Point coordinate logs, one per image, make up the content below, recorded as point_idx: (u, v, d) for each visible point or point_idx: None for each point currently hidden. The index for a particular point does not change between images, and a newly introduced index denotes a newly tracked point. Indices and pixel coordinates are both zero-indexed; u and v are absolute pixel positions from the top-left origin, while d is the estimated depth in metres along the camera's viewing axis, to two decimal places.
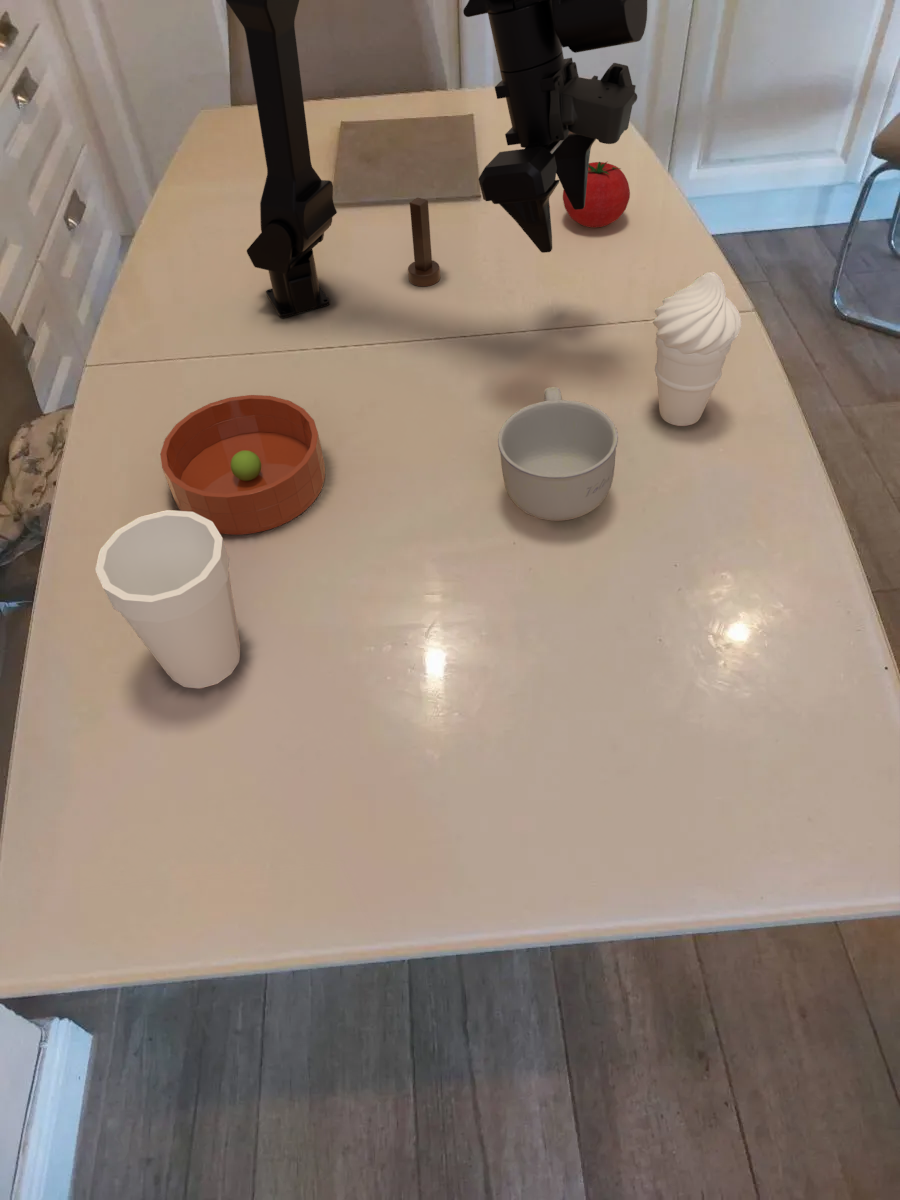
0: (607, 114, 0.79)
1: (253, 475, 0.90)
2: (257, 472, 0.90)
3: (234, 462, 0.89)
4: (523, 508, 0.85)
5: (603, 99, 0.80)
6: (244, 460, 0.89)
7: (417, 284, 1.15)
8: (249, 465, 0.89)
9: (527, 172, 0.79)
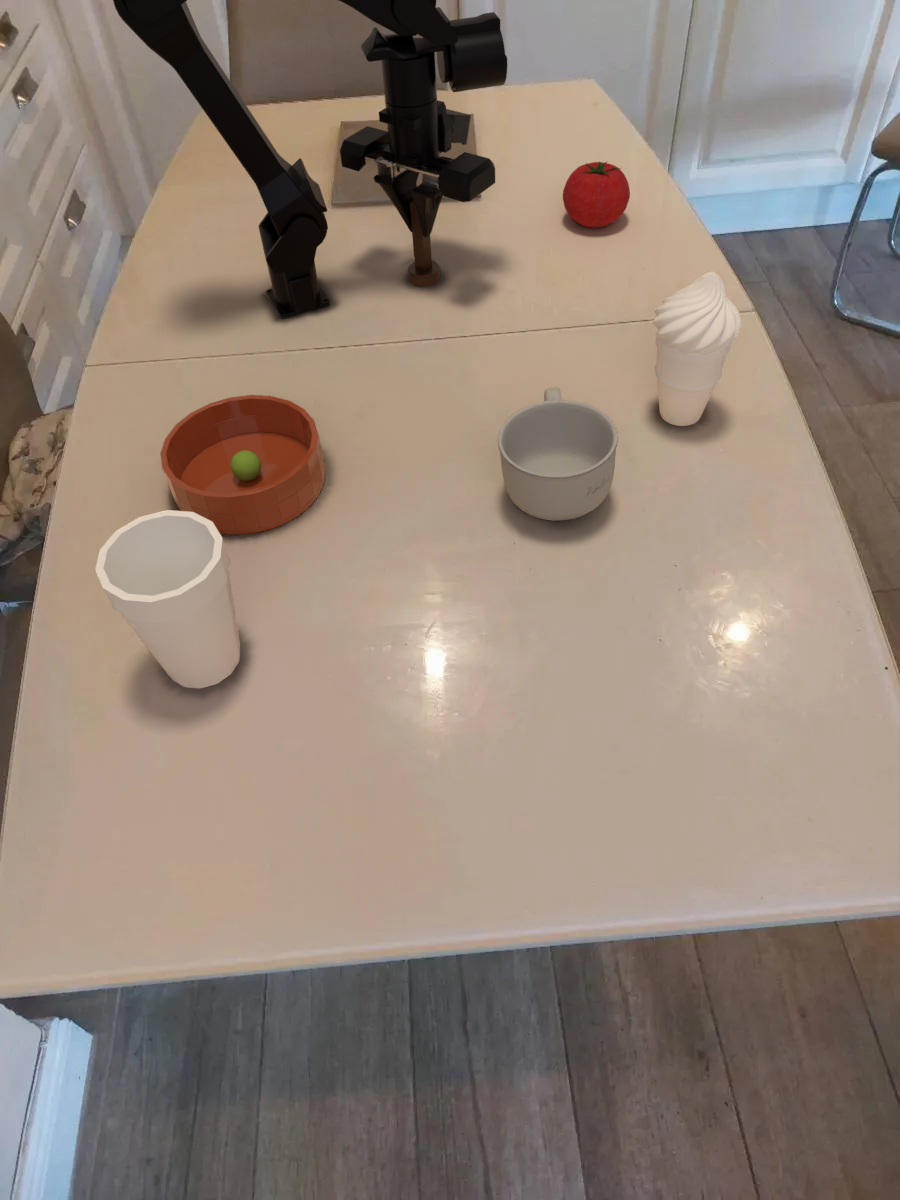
0: (468, 121, 1.06)
1: (253, 475, 0.90)
2: (257, 472, 0.90)
3: (234, 462, 0.89)
4: (523, 508, 0.85)
5: (456, 113, 1.05)
6: (244, 460, 0.89)
7: (417, 284, 1.15)
8: (249, 465, 0.89)
9: (492, 165, 1.01)
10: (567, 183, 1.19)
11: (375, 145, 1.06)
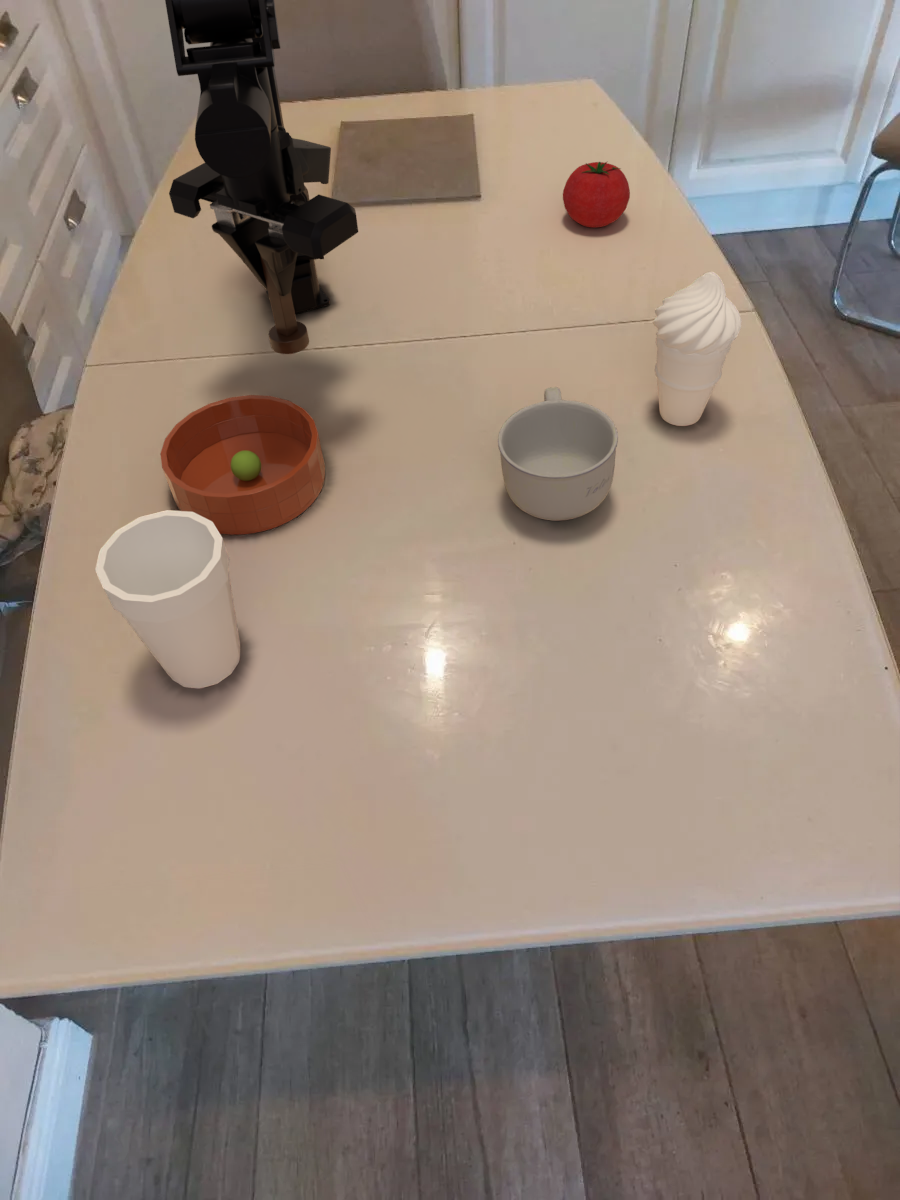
0: (327, 155, 0.85)
1: (253, 475, 0.90)
2: (257, 472, 0.90)
3: (234, 462, 0.89)
4: (523, 508, 0.85)
5: (311, 145, 0.85)
6: (244, 460, 0.89)
7: (279, 352, 0.94)
8: (249, 465, 0.89)
9: (351, 211, 0.81)
10: (567, 183, 1.19)
11: (212, 186, 0.85)
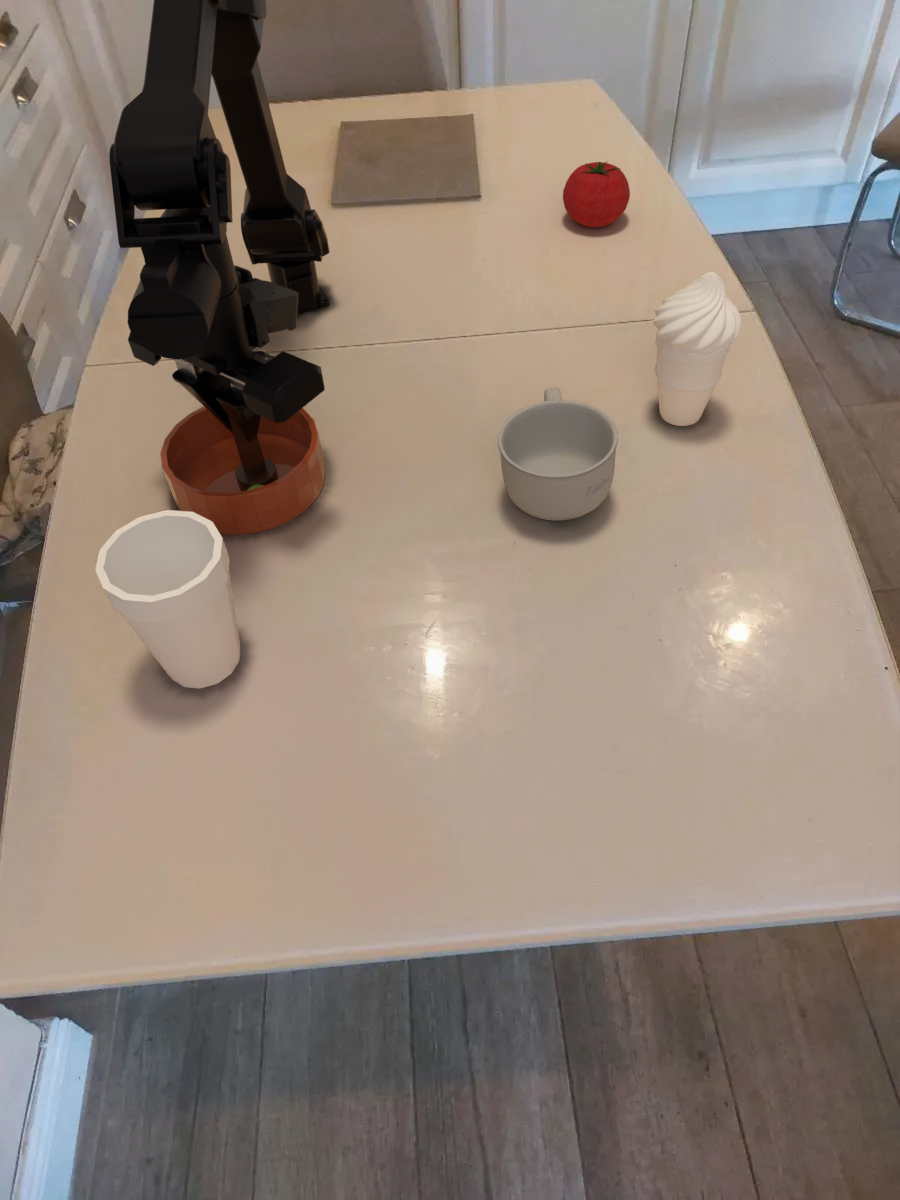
0: (294, 302, 0.81)
1: None
2: None
3: None
4: (523, 508, 0.85)
5: (277, 293, 0.80)
6: None
7: None
8: None
9: (316, 372, 0.76)
10: (567, 183, 1.19)
11: None
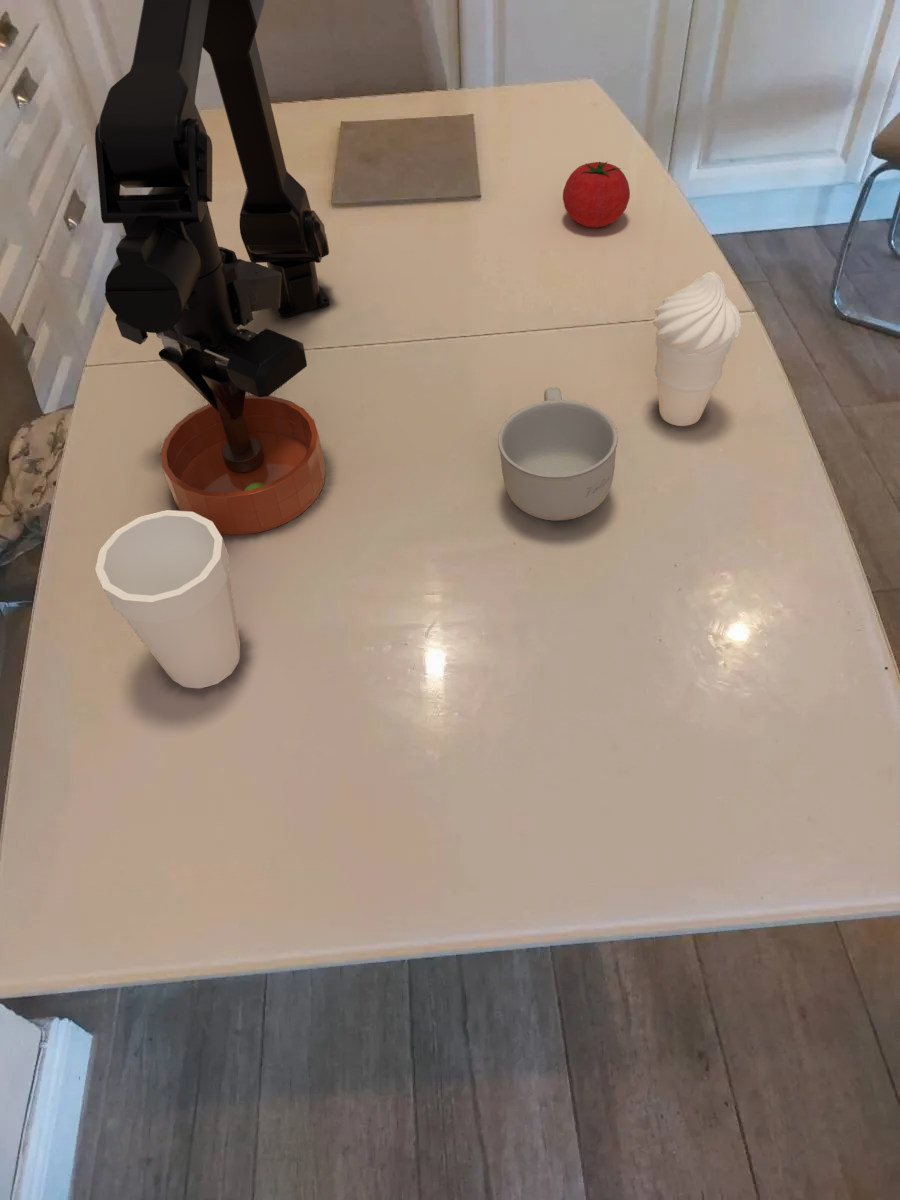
0: (277, 282, 0.83)
1: None
2: None
3: None
4: (523, 508, 0.85)
5: (261, 273, 0.82)
6: None
7: (233, 470, 0.92)
8: None
9: (299, 348, 0.79)
10: (567, 183, 1.19)
11: None
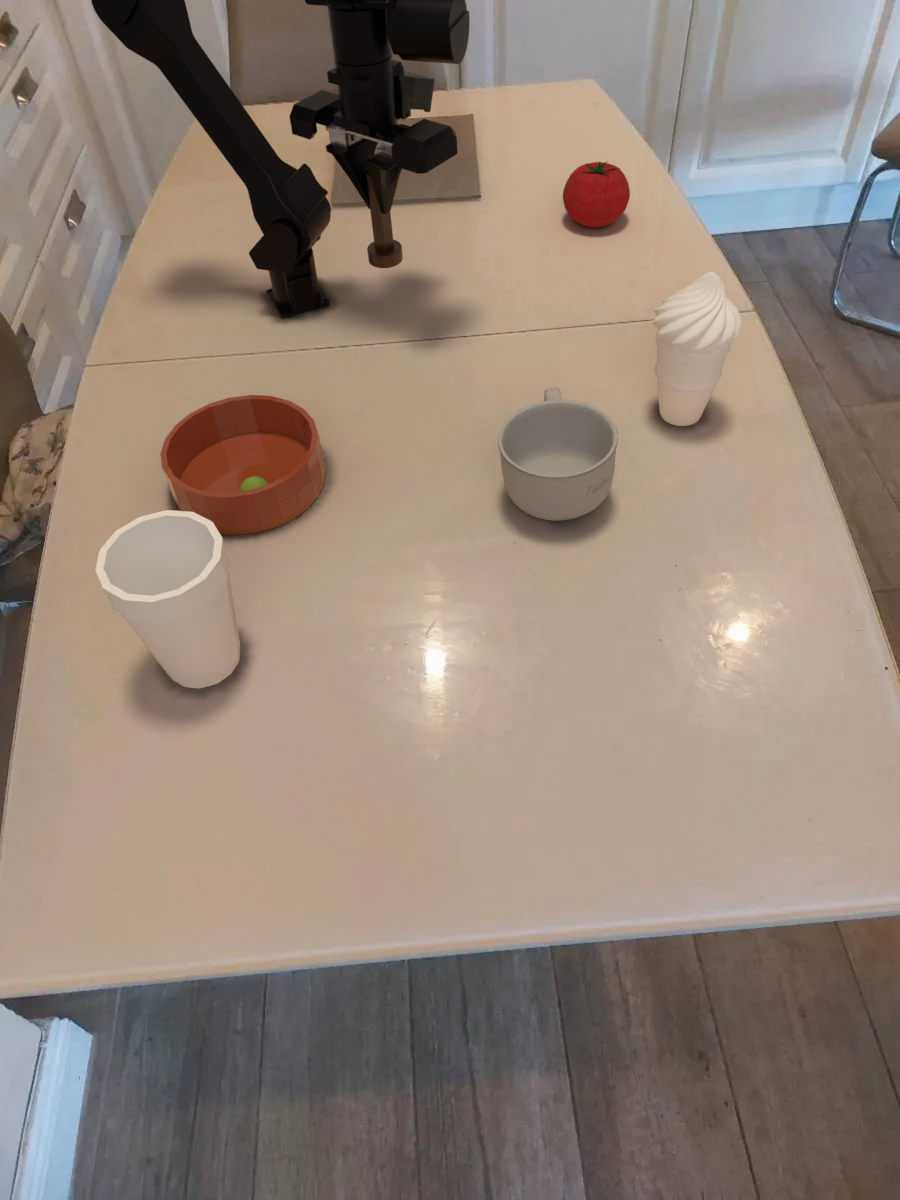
0: (431, 85, 0.95)
1: None
2: None
3: None
4: (523, 508, 0.85)
5: (418, 76, 0.95)
6: None
7: (376, 266, 1.04)
8: None
9: (453, 134, 0.91)
10: (567, 183, 1.19)
11: (328, 111, 0.96)
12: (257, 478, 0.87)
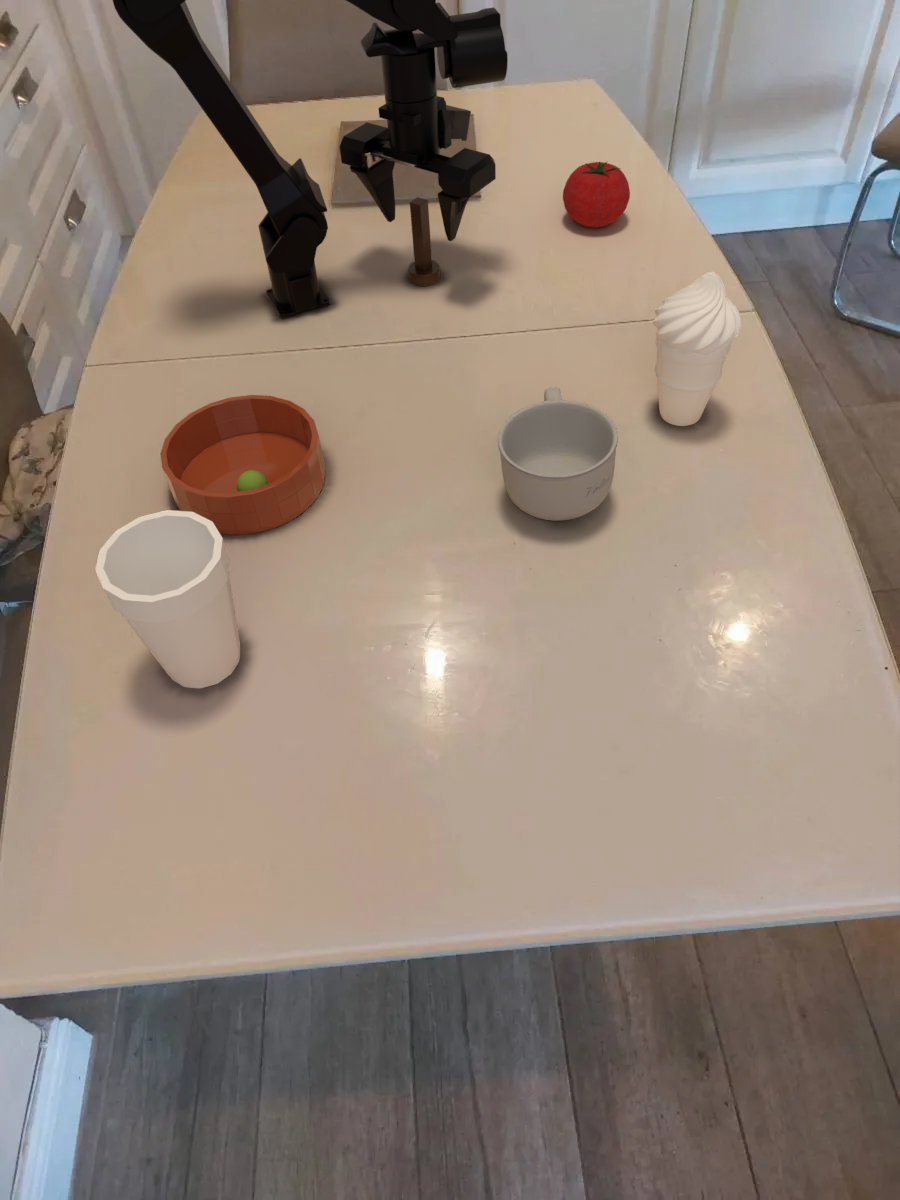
0: (468, 117, 1.05)
1: None
2: None
3: None
4: (523, 508, 0.85)
5: (456, 109, 1.05)
6: None
7: (417, 284, 1.15)
8: None
9: (492, 161, 1.01)
10: (567, 183, 1.19)
11: (375, 142, 1.06)
12: (252, 470, 0.89)
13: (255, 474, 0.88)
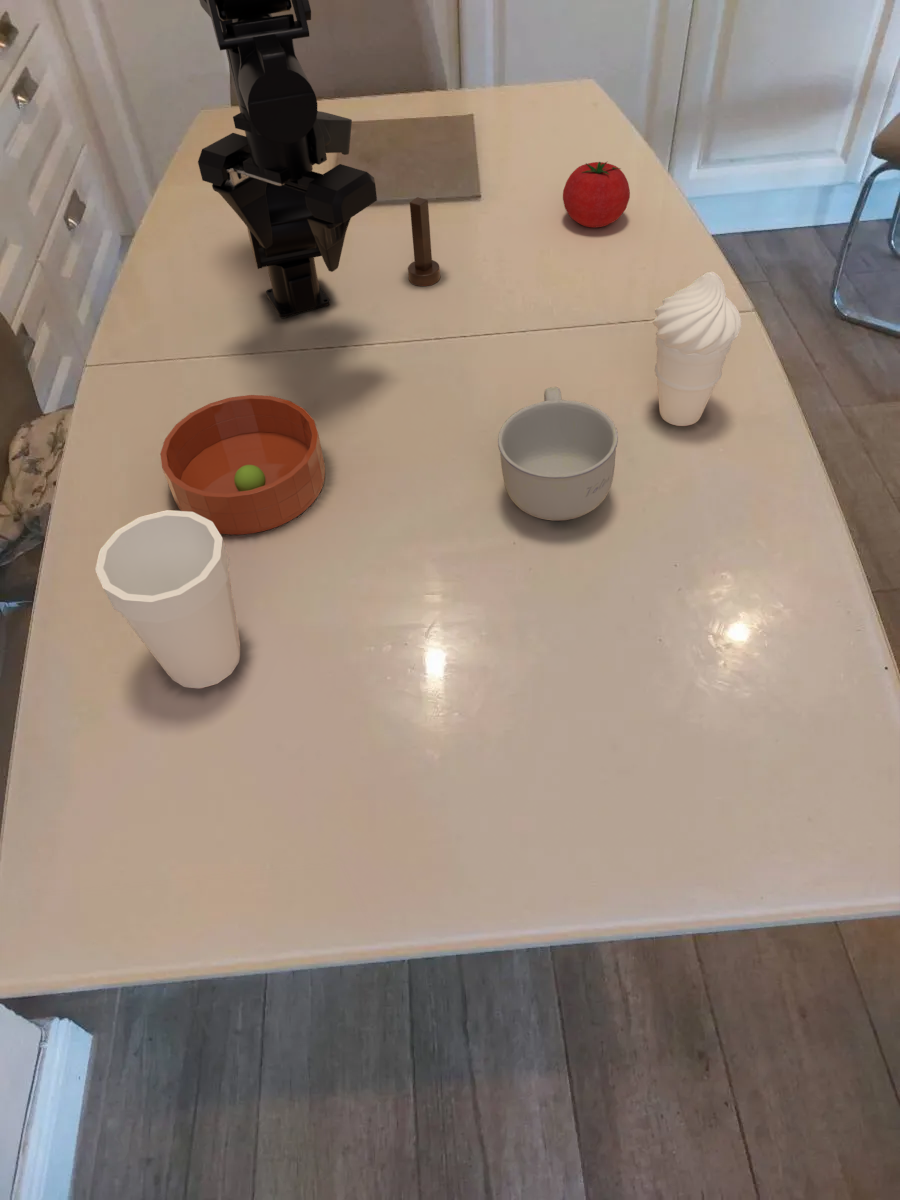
0: (348, 127, 0.90)
1: None
2: None
3: None
4: (523, 508, 0.85)
5: (333, 117, 0.89)
6: None
7: (417, 284, 1.15)
8: None
9: (371, 180, 0.85)
10: (567, 183, 1.19)
11: (239, 156, 0.90)
12: None
13: (251, 465, 0.89)
